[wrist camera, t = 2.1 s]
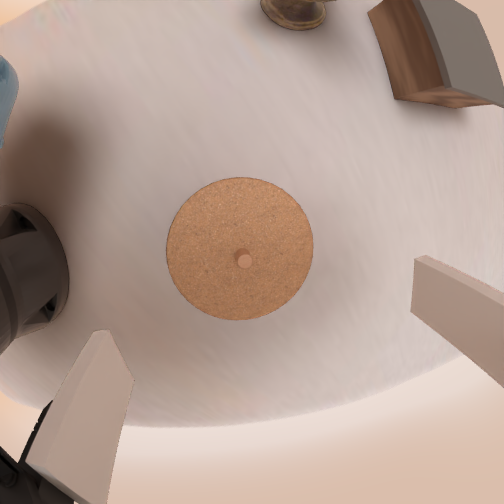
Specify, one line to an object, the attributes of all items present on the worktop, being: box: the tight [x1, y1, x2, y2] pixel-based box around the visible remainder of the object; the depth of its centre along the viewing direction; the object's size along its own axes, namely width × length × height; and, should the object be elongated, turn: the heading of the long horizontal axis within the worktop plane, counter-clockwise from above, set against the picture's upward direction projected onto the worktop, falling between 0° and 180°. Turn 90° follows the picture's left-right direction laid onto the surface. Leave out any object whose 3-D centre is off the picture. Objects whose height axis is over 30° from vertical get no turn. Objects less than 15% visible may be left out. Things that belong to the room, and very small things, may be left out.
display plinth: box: [368, 0, 504, 108], centre depth 19 cm, size 14×14×10 cm
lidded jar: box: [166, 177, 313, 320], centre depth 22 cm, size 11×11×9 cm
